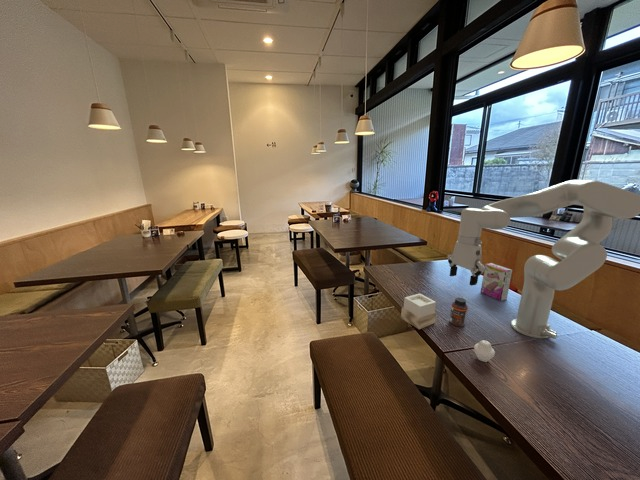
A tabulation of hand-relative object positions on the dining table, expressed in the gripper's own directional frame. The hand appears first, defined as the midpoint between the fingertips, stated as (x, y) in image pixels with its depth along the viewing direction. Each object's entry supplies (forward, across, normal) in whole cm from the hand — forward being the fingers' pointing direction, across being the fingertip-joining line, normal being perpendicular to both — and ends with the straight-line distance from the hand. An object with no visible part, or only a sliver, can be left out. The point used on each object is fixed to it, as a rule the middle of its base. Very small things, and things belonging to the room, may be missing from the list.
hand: (462, 280), depth 106 cm
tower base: (+20, +8, +14) cm, 26 cm away
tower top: (+15, +8, +14) cm, 22 cm away
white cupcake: (+20, -20, +9) cm, 30 cm away
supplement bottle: (+20, 0, 0) cm, 20 cm away
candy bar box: (+20, +12, -38) cm, 45 cm away
